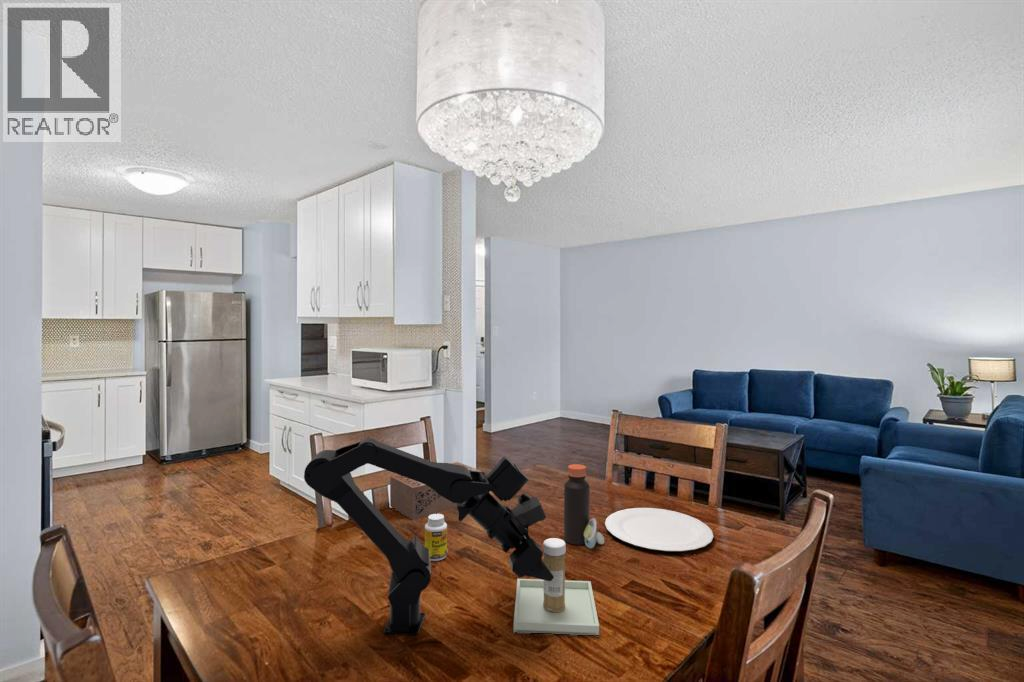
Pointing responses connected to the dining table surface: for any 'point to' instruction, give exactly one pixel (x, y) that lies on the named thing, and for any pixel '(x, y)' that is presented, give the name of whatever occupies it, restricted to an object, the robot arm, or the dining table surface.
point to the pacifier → (592, 534)
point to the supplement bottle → (436, 537)
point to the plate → (659, 529)
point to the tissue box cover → (418, 497)
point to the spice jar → (554, 574)
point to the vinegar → (576, 505)
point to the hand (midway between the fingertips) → (546, 567)
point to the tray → (571, 620)
